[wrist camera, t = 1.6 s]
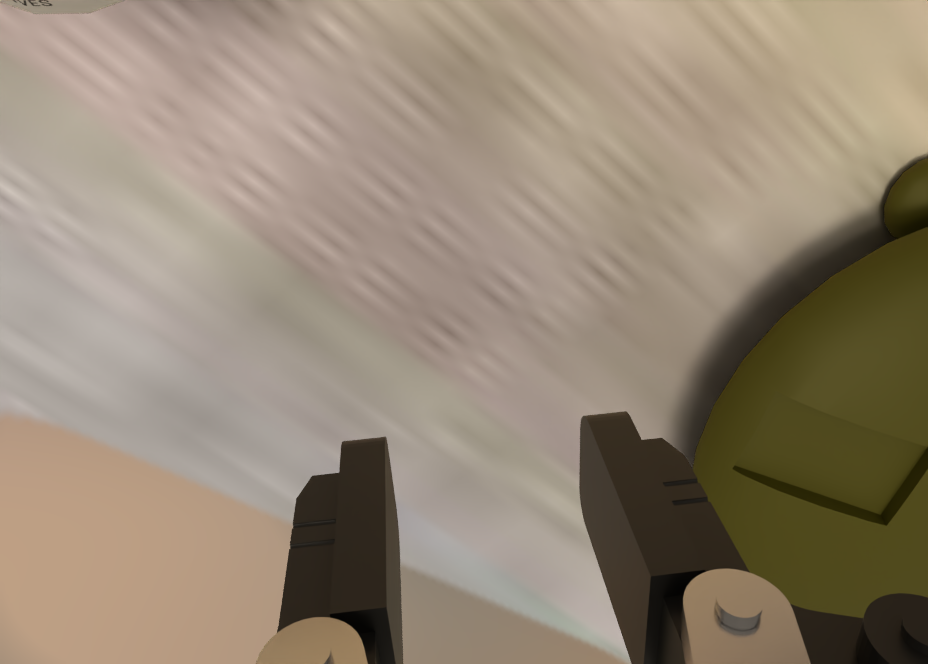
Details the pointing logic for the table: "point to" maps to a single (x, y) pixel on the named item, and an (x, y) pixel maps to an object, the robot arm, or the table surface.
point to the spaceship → (835, 430)
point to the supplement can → (60, 5)
